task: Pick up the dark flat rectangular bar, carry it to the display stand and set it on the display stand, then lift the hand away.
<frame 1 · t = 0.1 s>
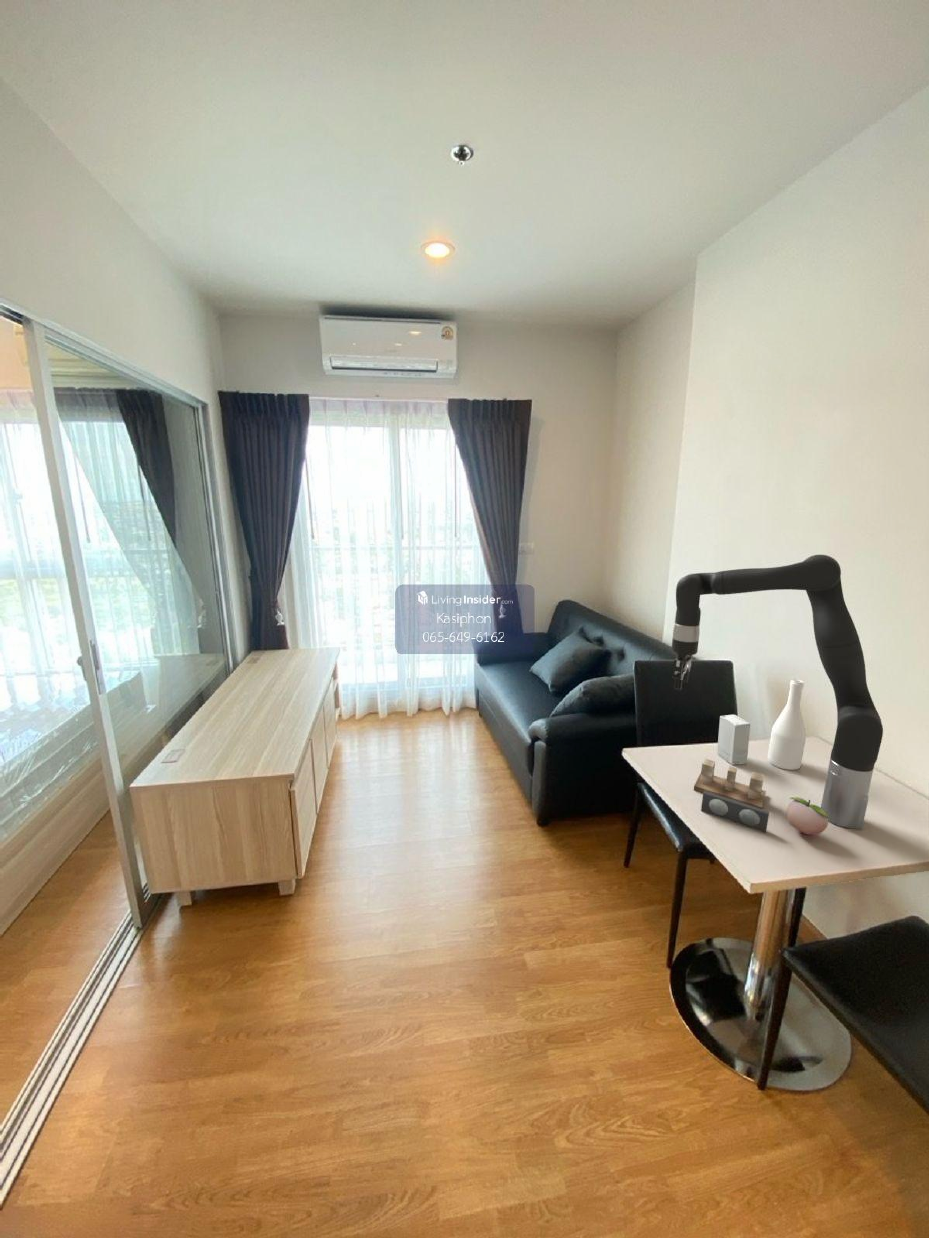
hand: (680, 686, 152), 29 cm above the table, fingers open, 8 cm apart
skincare box: (730, 759, 164), on the table
decorative fruit: (802, 834, 127), on the table
display stand: (729, 792, 145), on the table
dark flat rectangular bar: (732, 820, 132), on the table
wine bottle: (783, 764, 161), on the table
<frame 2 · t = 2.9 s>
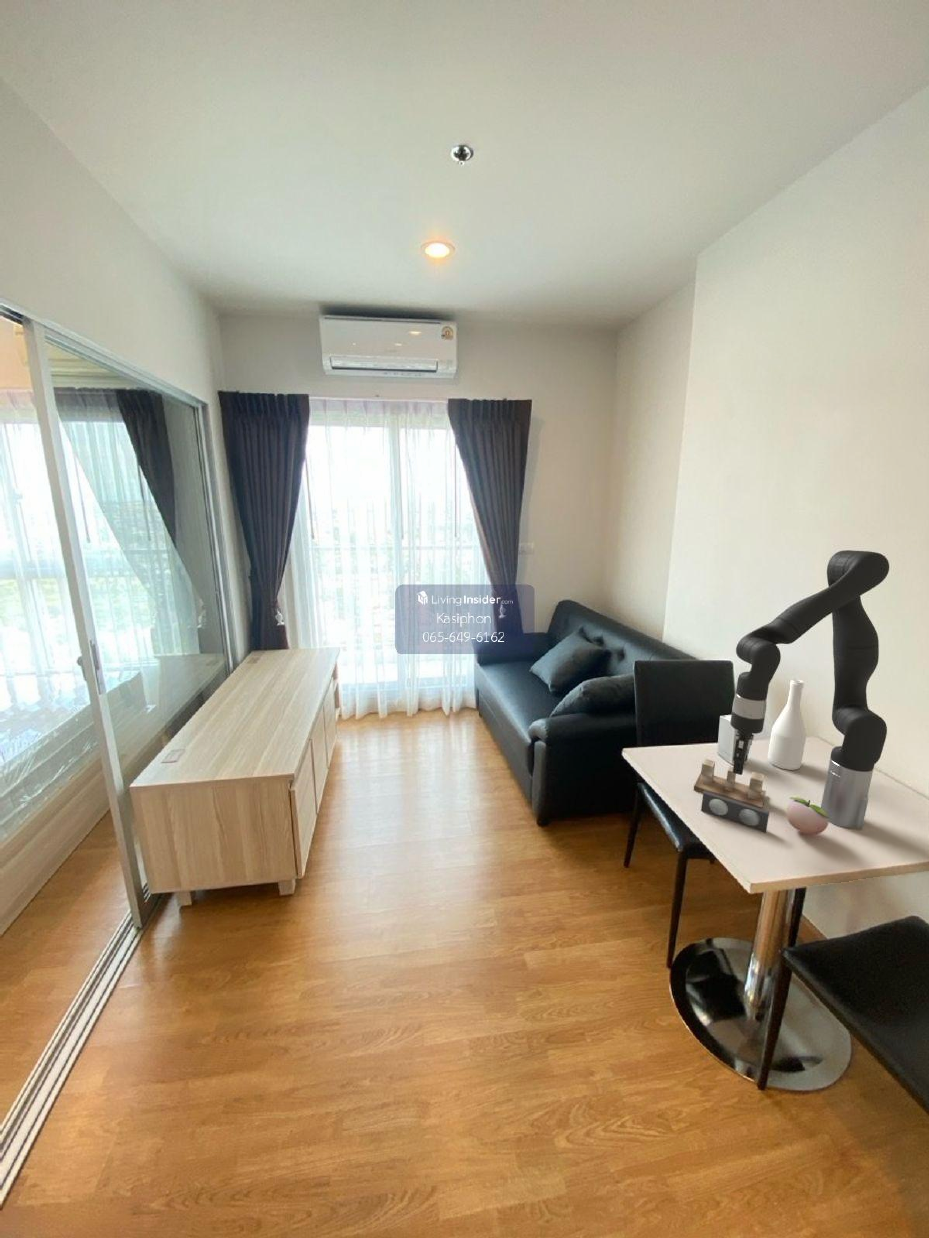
hand: (739, 766, 128), 17 cm above the table, fingers open, 8 cm apart
nothing on the table moved.
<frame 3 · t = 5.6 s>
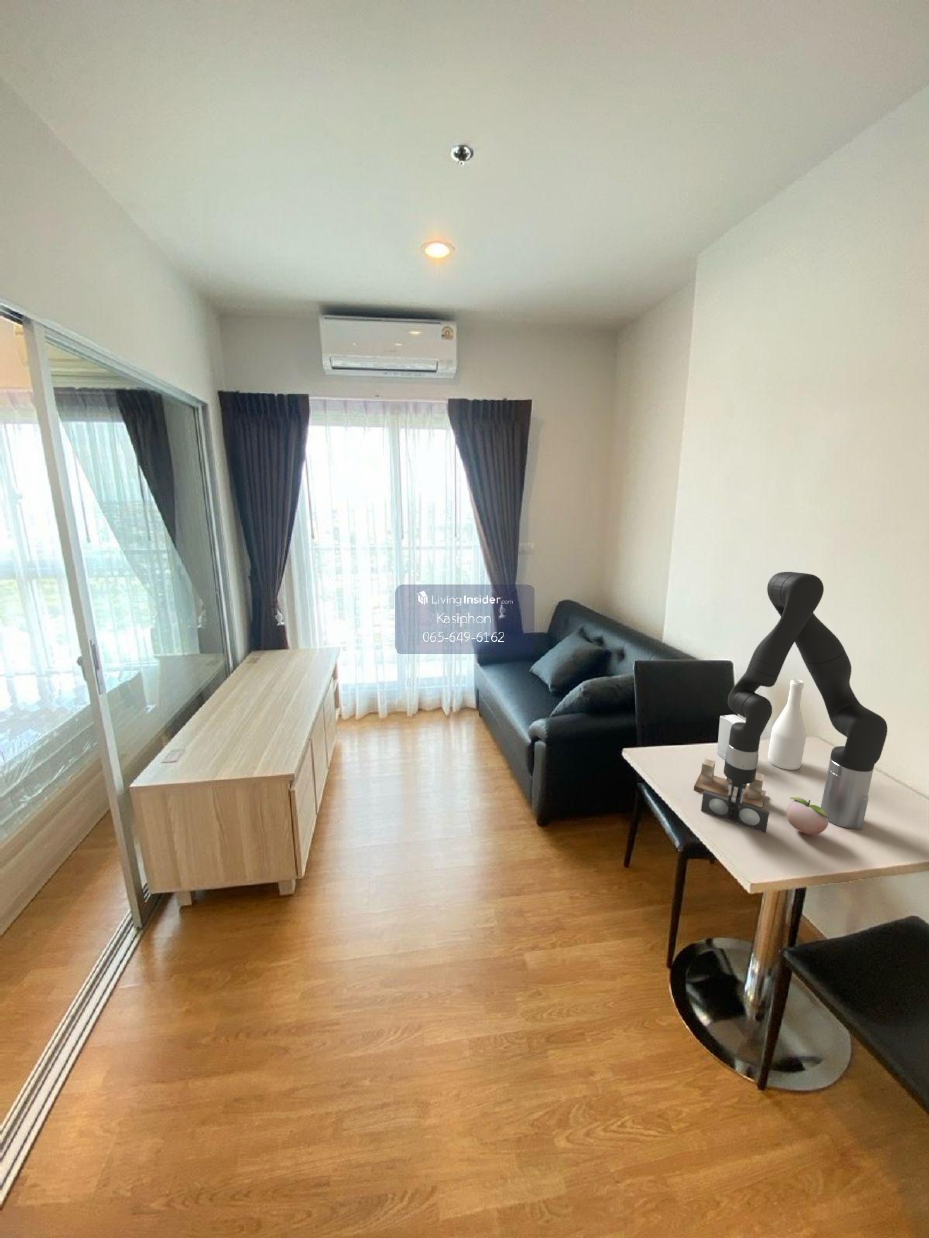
hand: (733, 816, 132), 1 cm above the table, fingers closed on dark flat rectangular bar, 1 cm apart
dark flat rectangular bar: (732, 820, 132), on the table, touching gripper
everything else where it was.
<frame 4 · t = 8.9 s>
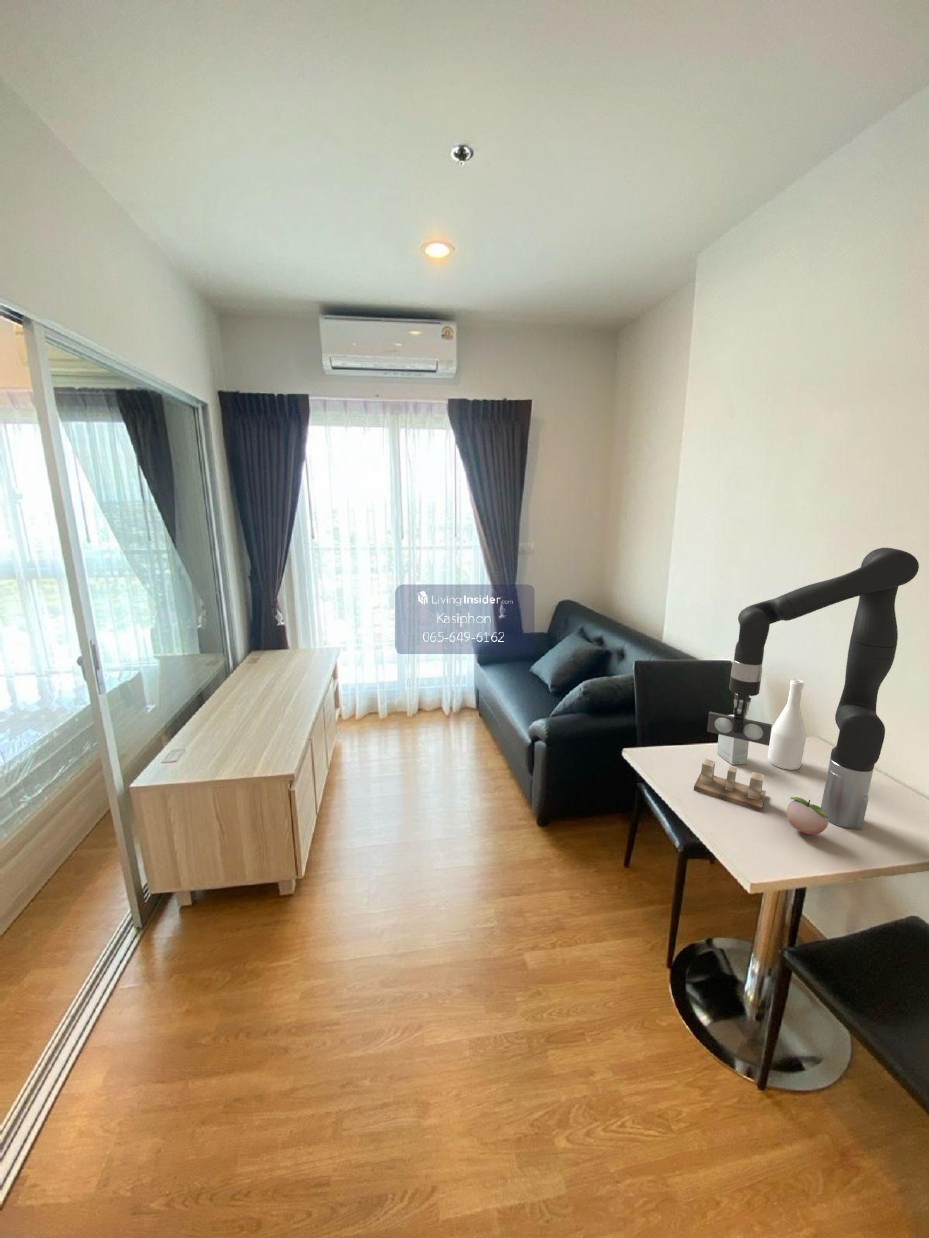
hand: (738, 731, 139), 21 cm above the table, fingers closed on dark flat rectangular bar, 1 cm apart
dark flat rectangular bar: (737, 737, 139), point 19 cm above the table, touching gripper
everything else where it was.
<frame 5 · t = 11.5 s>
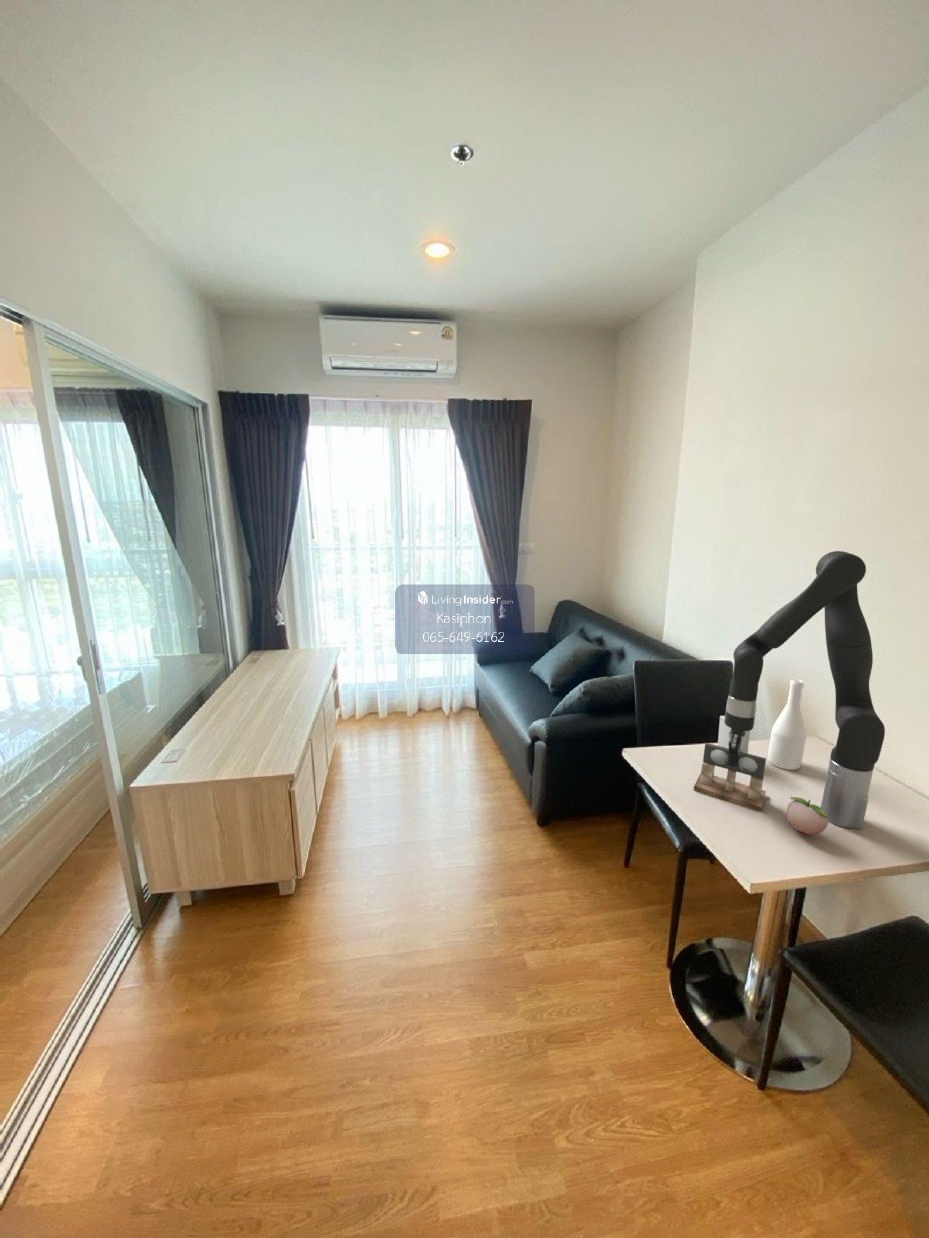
hand: (733, 764, 143), 10 cm above the table, fingers closed on dark flat rectangular bar, 1 cm apart
dark flat rectangular bar: (732, 769, 143), point 8 cm above the table, touching gripper
everything else where it was.
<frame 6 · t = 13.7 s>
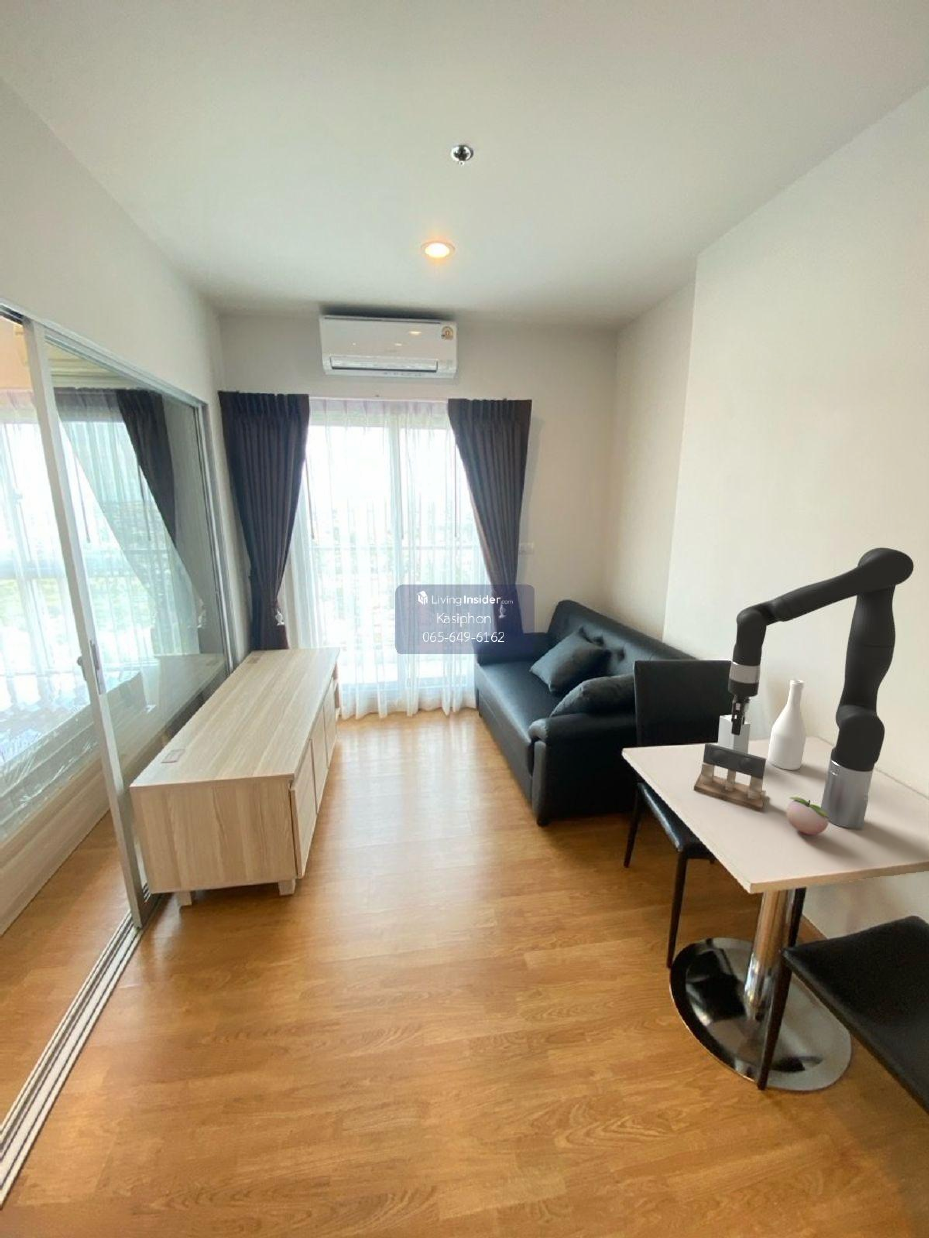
hand: (737, 728, 140), 21 cm above the table, fingers open, 8 cm apart
dark flat rectangular bar: (732, 769, 143), point 8 cm above the table, touching display stand
everything else where it was.
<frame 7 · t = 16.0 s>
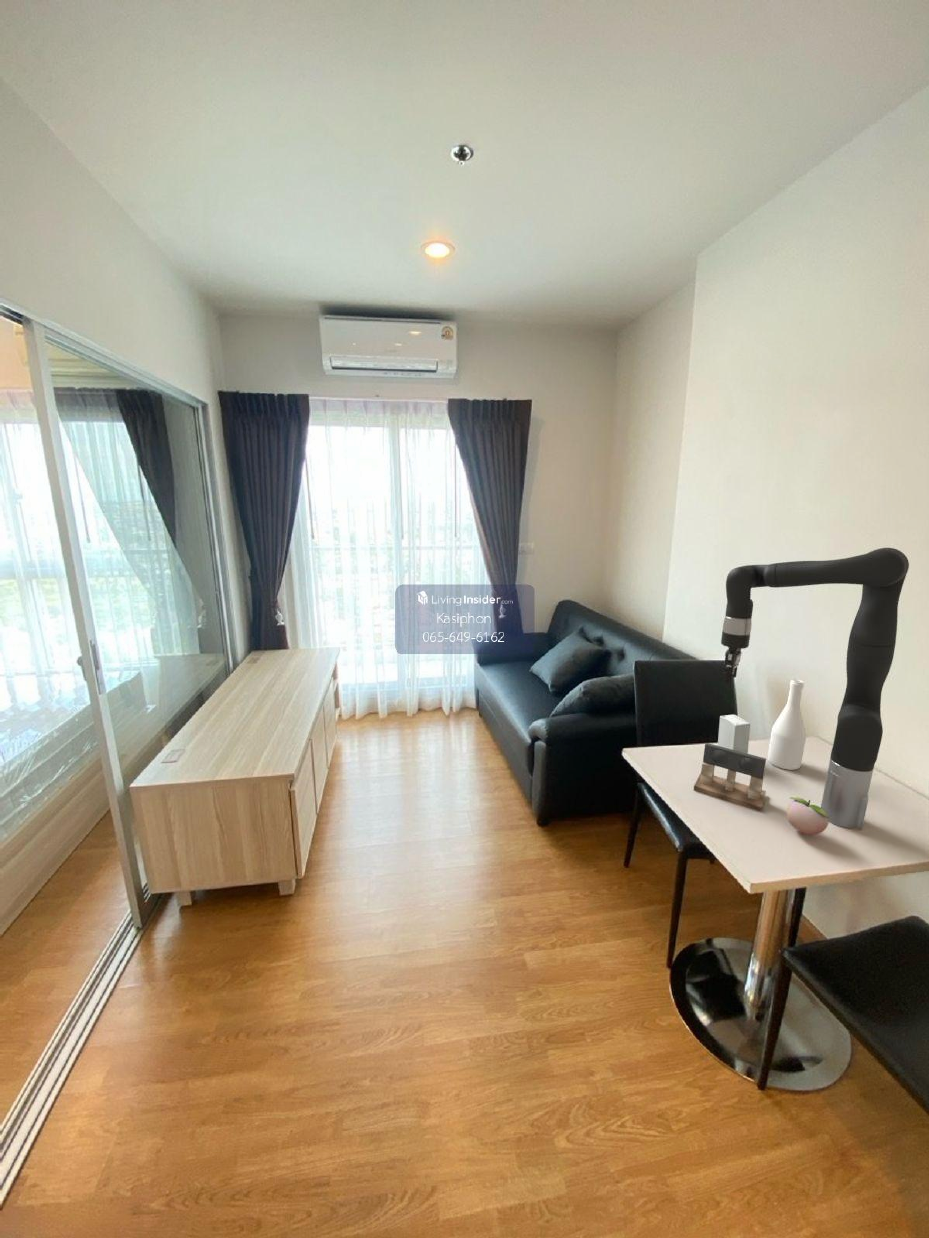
hand: (729, 680, 149), 32 cm above the table, fingers open, 8 cm apart
nothing on the table moved.
at the end: dark flat rectangular bar 0.0 cm off-centre on the display stand, point 8.0 cm above the display stand's base; dark flat rectangular bar tilted 0°; the gripper is holding nothing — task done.
